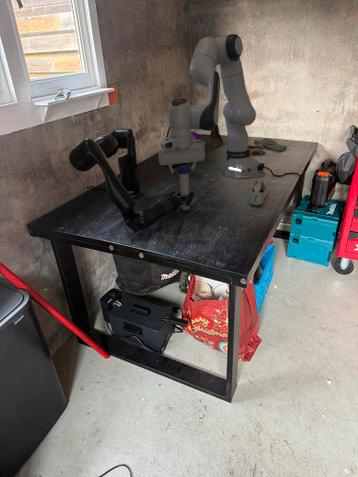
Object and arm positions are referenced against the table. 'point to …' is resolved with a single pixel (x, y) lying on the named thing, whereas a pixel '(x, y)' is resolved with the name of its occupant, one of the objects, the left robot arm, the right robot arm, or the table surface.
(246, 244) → the table surface
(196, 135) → the decorative orb
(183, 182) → the bottle
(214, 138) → the boot
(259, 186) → the ballet flat
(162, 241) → the table surface
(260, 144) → the pair of gloves
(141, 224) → the left robot arm
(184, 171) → the lid
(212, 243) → the table surface
